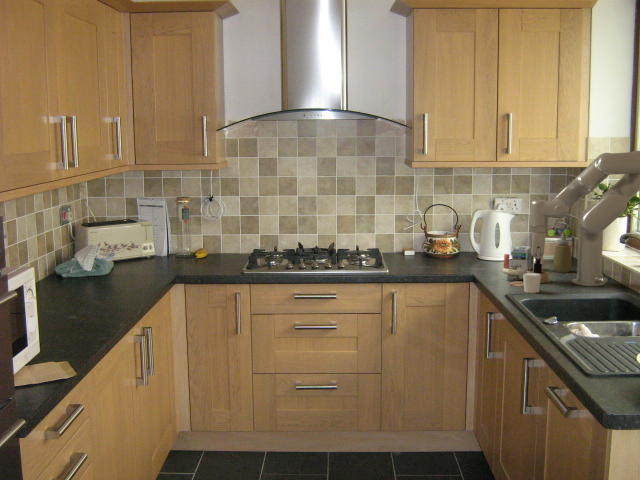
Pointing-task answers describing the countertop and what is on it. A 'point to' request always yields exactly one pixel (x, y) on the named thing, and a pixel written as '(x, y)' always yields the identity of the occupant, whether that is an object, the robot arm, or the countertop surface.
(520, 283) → the coaster
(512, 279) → the wheel post
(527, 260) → the light bulb box
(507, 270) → the crank wheel
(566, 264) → the squeeze bottle
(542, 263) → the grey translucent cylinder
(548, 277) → the block
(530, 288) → the white cup
